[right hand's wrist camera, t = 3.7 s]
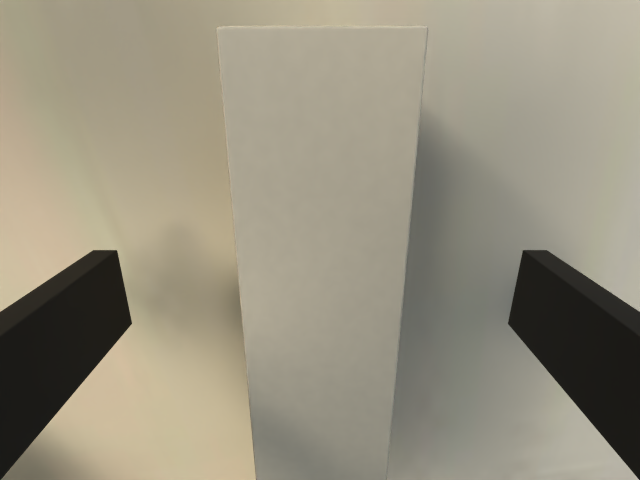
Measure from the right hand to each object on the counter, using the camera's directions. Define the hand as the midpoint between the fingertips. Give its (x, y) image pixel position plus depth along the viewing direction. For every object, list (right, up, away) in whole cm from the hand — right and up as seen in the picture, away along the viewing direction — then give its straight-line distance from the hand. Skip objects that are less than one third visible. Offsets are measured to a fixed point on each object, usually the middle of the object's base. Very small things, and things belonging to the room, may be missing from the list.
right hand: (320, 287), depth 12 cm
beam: (0, -20, +14) cm, 25 cm away
